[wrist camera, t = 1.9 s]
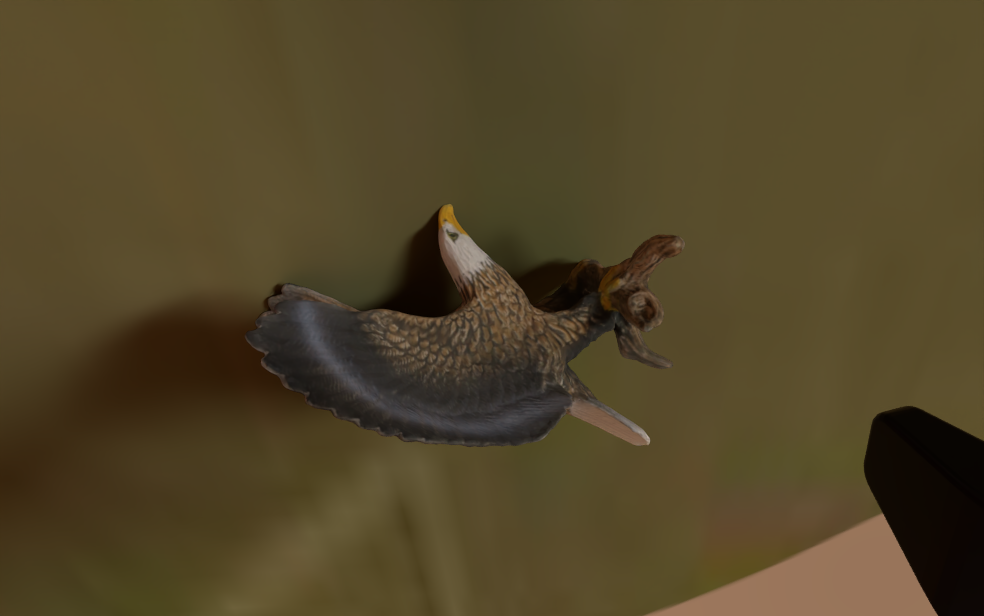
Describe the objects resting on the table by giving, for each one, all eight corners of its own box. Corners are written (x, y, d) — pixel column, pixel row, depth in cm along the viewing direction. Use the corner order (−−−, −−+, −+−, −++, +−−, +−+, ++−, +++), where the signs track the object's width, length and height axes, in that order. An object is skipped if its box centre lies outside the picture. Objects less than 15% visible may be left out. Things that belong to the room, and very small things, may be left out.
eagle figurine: (600, 81, 20) (198, 224, 18) (763, 370, 18) (335, 567, 16) (546, 228, 27) (253, 343, 25) (660, 447, 25) (353, 590, 23)
